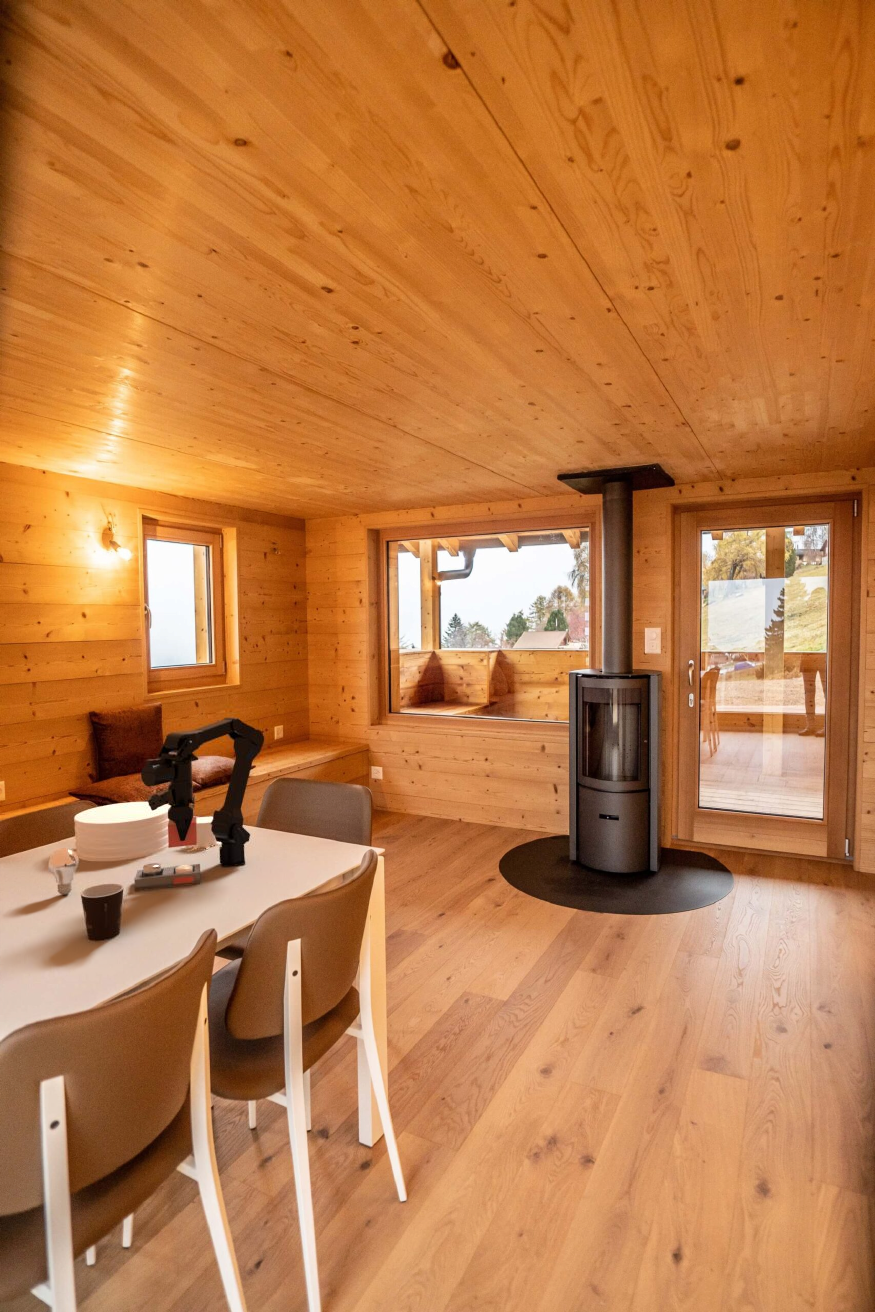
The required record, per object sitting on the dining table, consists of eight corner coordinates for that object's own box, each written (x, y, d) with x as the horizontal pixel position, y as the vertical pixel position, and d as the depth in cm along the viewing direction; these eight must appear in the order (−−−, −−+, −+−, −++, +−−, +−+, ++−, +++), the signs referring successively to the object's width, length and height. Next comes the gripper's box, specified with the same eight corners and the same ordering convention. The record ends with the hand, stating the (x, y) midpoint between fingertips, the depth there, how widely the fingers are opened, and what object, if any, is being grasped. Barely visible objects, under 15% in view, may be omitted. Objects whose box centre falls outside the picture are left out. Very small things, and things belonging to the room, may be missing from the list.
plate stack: (140, 831, 250) (139, 798, 249) (190, 844, 233) (189, 808, 233) (57, 852, 227) (56, 815, 227) (107, 867, 211) (105, 828, 210)
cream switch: (193, 872, 200) (192, 864, 200) (192, 877, 195) (192, 869, 195) (175, 874, 198) (175, 866, 198) (175, 879, 194) (174, 871, 194)
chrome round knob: (161, 870, 197) (161, 862, 197) (160, 875, 193) (160, 867, 193) (144, 872, 196) (143, 864, 196) (142, 877, 192) (142, 869, 192)
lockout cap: (197, 838, 201) (196, 816, 201) (196, 844, 194) (195, 822, 194) (170, 840, 199) (169, 818, 199) (168, 847, 192) (167, 825, 192)
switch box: (200, 874, 202) (199, 863, 202) (199, 884, 194) (199, 873, 194) (137, 881, 197) (137, 870, 197) (134, 891, 189) (134, 880, 189)
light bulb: (67, 900, 184) (65, 853, 183) (43, 899, 185) (41, 852, 185) (86, 891, 191) (84, 845, 190) (62, 889, 192) (61, 844, 192)
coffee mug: (91, 928, 166) (89, 884, 165) (130, 926, 166) (129, 882, 166) (69, 950, 154) (68, 903, 154) (112, 948, 155) (110, 901, 154)
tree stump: (168, 842, 236) (167, 818, 236) (229, 833, 245) (228, 809, 245) (179, 858, 218) (178, 832, 218) (244, 848, 228) (243, 822, 228)
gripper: (151, 775, 203) (153, 831, 203) (145, 789, 185) (148, 850, 185) (193, 772, 206) (195, 827, 206) (192, 785, 188) (194, 845, 189)
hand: (183, 837), depth 197 cm, fingers closed on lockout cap, 7 cm apart
